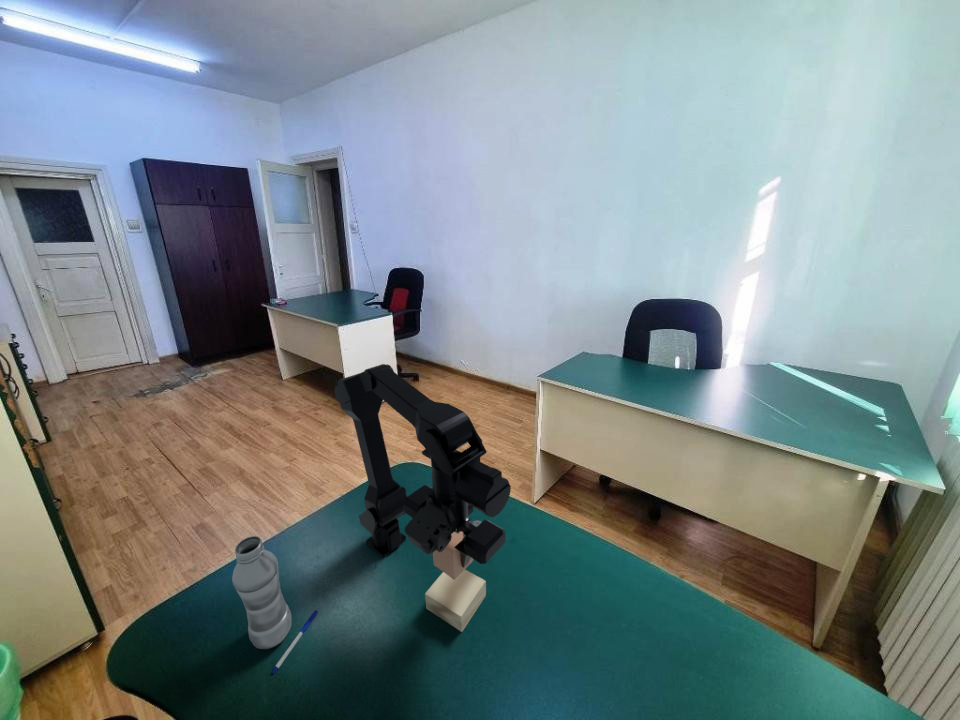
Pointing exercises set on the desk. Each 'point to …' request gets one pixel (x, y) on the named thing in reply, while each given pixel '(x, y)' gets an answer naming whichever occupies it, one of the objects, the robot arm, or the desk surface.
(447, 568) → the terracotta block
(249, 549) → the plastic bottle
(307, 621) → the ballpoint pen
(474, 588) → the beech block
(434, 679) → the desk surface
